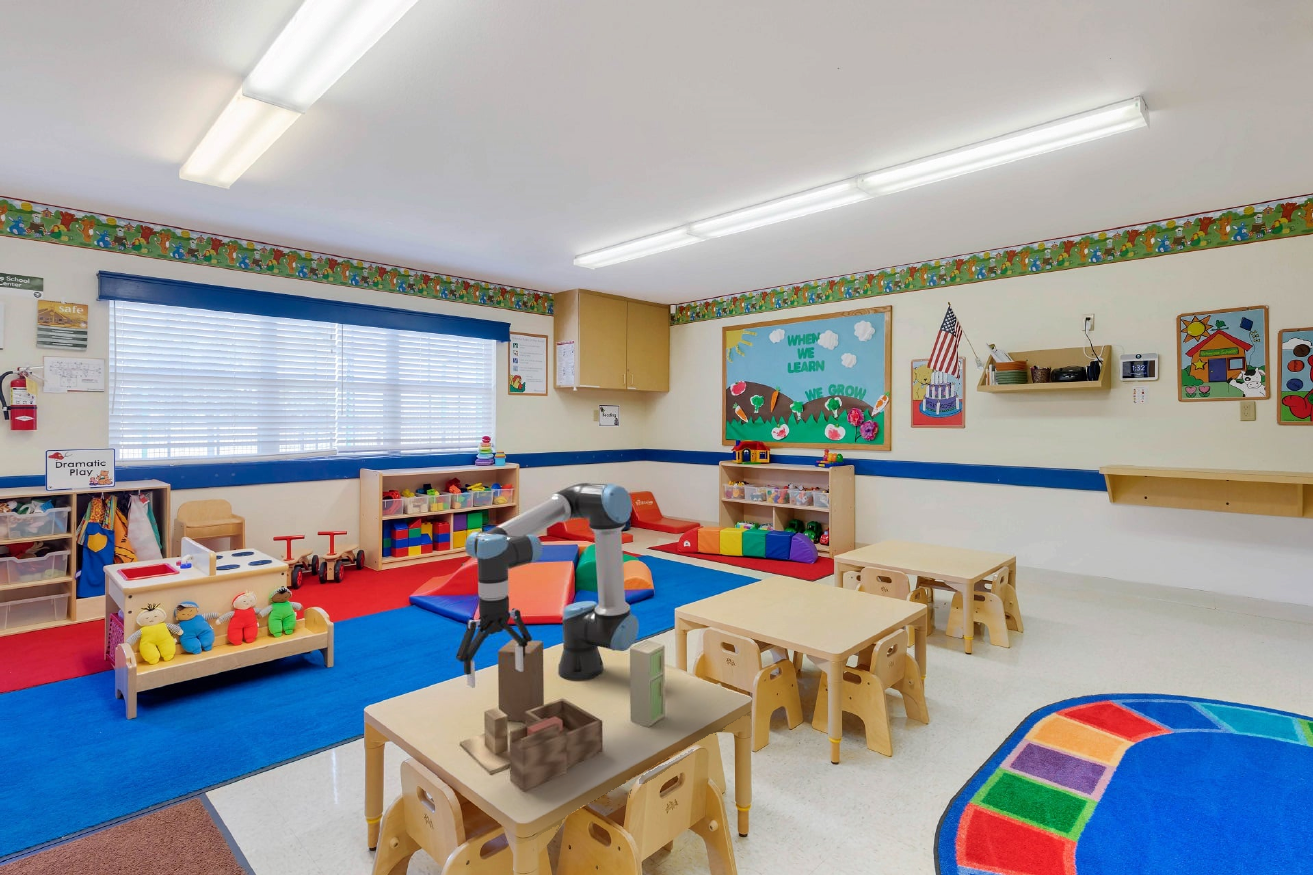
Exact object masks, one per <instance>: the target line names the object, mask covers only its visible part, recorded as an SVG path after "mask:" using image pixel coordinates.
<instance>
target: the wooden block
mask: <svg viewBox="0 0 1313 875" xmlns="http://www.w3.org/2000/svg"><path fill="white" fill-rule="evenodd" d="M527 643H528V645H527V646H526V647H525V657H523V671H522V672H520V671H518V670H517V669H516V665H515V645H516V644H518V643H517V642H516V641H515V640H514V639H513V638H512V639H511V640H510V641H509V642H507V643H505V645H503V646H502V647H500V649H499V650H498V652H497V667H498V668H497V674H498V675H497V676H498V679H497V680H498V682H497V683H498V709H500V710H501V711H502V712H503V713H505V714H506V715H507V721H510V722H521V723H522V722H523V723H525V712H526V711H529V710H531V709H534V708H537V707H540V706H543V705H545V700H544V699H545V697H544V695H545V693H544V692H545V689H544V684H545V683H544V682H545V681H544V675H545V674H544V642H543V641H541V640H531V641H530V642H527ZM518 645H519V644H518Z"/></svg>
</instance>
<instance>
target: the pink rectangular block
mask: <svg viewBox="0 0 1313 875" xmlns="http://www.w3.org/2000/svg"><path fill="white" fill-rule="evenodd" d="M555 725H559V732H561V731H562V720H561V719H559V718H557V717H556V716H555V717H552V718H550V719H547V720H545V721H542V722H539V723H537V724H534V725H531V726H529V727H527V736H529V735H532V734H534V733H537V732H540V731H542V730H545V729H547V728H550V727H552V726H555Z"/></svg>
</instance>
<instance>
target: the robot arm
mask: <svg viewBox="0 0 1313 875" xmlns="http://www.w3.org/2000/svg"><path fill="white" fill-rule="evenodd" d="M632 510H633V502H632V497H631V496H630V493H629V492H628V490H626V488H624V487H623V486H621V485H615V484H613V483H612V484H611V483H610V484H609V483H608V484H607V483H606V484H605V483H589V482H583V483H581V482H580V483H577V484H573V485H571V486H568V487H565V488H563V489H560V490H559V491H556V492H554V493H553V494H551V495H550V496H549V497H548V498H547V500H546V501H544V502H542V503H540V504H538V505H535V506H534V507H532V508H530V509H528V510H526V511H525V512H522V513H520V514H519V515H517V516H515V517H513V518H510V519H508V520H507V521H505V522H502V523H500V524H499V525H497V526H495V527H493V528H490V529H488V530H487V531H486V530H485V531H481V530H480V531H473V532H471V533H470V534H469V535H468V536H467V538H466V540H465V543H464V544H465V545H464V546H465V551H466V553H467V555H468V556H469V557H471V558H472V559H473V558H475V559H476V560H477V562H476V563H477V579H478V580H477V581H478V582H477V584H478V585H477V586H478V588H477V589H478V591H477V592H478V597H479V598H478V613H479V617H478V619H475V620H472V619H470V618H469V619H468V620H467V623H466V629H465V630H466V631H465V632H464V634H463V638H462V639H461V642H460V646H458V649H457V653H456V655H455V659H456V660H458V661H459V662H461V663H462V662H463V672H464V674H465V675H466V676H467V680H466V682H467V685H468V686H469V687H471V688H472V689H474V688H476V670H475V665H476V664H475V661H474V660H473V658H474V657H475V656H476V654H477V652H478V650H479V649H480V647H481V645H482V644H483V642H484V641H485V639H487V638H488V637H489V636H490V635H494V634H497V633H501V632H503V630H504V631H505V632H506V633H507V634H508V635H509V636H510V637H511V638H512V639H514V640H515V641H516V642H517V643H518V644H519V645H518V644H516V645H515V665H516V669H517V670H518V671H520V672H522V671H523V657H525V647H526V646H527V645H528V643H527V642H530V641H533V640H532V639H533V638H532V635H531V633H530V632H529V630H528V628H527V626H526V625H525V622H524V621H523V619H522V615H521V611H520V609H517V608H515V607H513V608H512V609H511V610H510V597H509V592H510V589H509V585H510V584H509V570H510V569H515V568H517V567H520V566H524V565H529V564H532V563H533V562H535V561H537V560H539V559H540V558H541V556H542V554H543V544H542V541H541V540H540V538H539V537H538V536H537V534H539V533H541V532H542V531H544V530H546V529H548V528H550V527H551V526H553V525H555V524H557V523H565V522H567V521H569V520H573V519H583V520H588V525H589V526H588V527H589V528H588V529H590V530H591V531H592V532H593V533H594V547H595V563H596V581H597V596H598V603H597V602H596V601H593V600H585V601H578V602H574V603H571V604H568V605H566V606H565V607H564V608H563V612H562V614H563V615H562V642H563V644H562V647H563V649H562V653H561V657H560V659H559V660H560V661H559V663H558V667H557V669H558V675H559V676H560V677H561V678H563V679H565V680H571V681H586V680H591V679H595V678H597V677H599V676H601V675H602V674H603V672H604V663H603V660H602V656H601V653H600V650H599V648H603V649H608V650H611V651H617V652H618V651H619V652H625V651H627V650H628V649H629V650H630V648H631V647H633V644H634V643H635V640H636V639H637V636H638V633H639V627H640V626H639V619H638V618H637V617H636V616H635V615H634V614H631V606H630V604H629V603H628V602H626V592H625V578H624V577H625V576H624V559H623V558H624V557H623V542H622V541H623V539H622V530H623V529H624V528H625V527H626V522H627V521H628V520H629V519H630V517H631V513H632ZM509 610H510V611H509ZM510 619H512V620H513V622H514V624H515V625H516V628H517V629H518V631H519V632H520V634H518V632H517V631H515V629H513V627H512V626H511V625H510V624H509V621H510ZM478 626H479V629H478ZM477 629H478V630H477ZM476 630H477V632H476ZM475 634H476V636H475ZM520 635H521V636H520ZM474 636H475V637H474Z"/></svg>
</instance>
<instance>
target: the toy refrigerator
mask: <svg viewBox="0 0 1313 875" xmlns="http://www.w3.org/2000/svg"><path fill="white" fill-rule="evenodd" d="M665 652H666V651H665V645H664V644H662V643H658V642H656V641H655V642H654V641H651V640H644V641H642V642H639V643H637V644H636V645H634V646H631V647H630V648H629V667H630V668H629V678H630V679H629V680H630V682H629V683H630V686H629V688H630V690H629V691H630V692H629V693H630V694H629V697H630V702H629V703H630V704H629V707H630V714H629V715H630V721H631V722H632V723H636V724H639V725H641V726H643V727H644V726H645V727H647V728H650V727H652V725H654V724H655V723H657V722H659V721H661V719H663V718H665V717H666V713H665V712H666V709H665V708H666V706H665V705H666V704H665V703H666V702H665V701H666V698H665V697H666V696H665V690H666V688H665V687H666V686H665V682H666V681H665V680H666V679H665V675H666V674H665V673H666V672H665V670H666V669H665V666H666V665H665V663H666V662H665V661H666V660H665V658H666V657H665Z"/></svg>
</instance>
